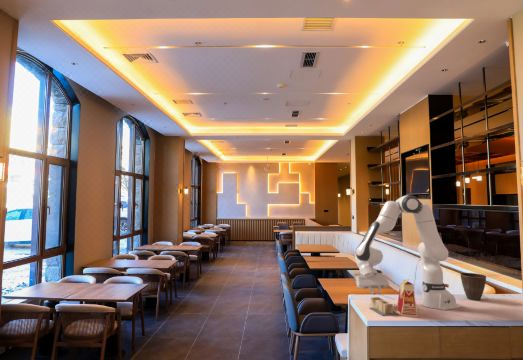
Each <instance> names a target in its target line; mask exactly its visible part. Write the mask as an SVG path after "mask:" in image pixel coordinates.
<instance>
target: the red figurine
mask: <svg viewBox="0 0 523 360" xmlns="http://www.w3.org/2000/svg"><path fill="white" fill-rule="evenodd" d="M396 313H398V314H399V315H400V316H401V317H411V316H412V317H413V318H419V312H418V309H417V302H416V297H415V287H414V284H413V283H412V282H410V281H409V279H408V278H407V279H402V282H401V283H400V284H399V290H398V298H397V312H396Z"/></svg>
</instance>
